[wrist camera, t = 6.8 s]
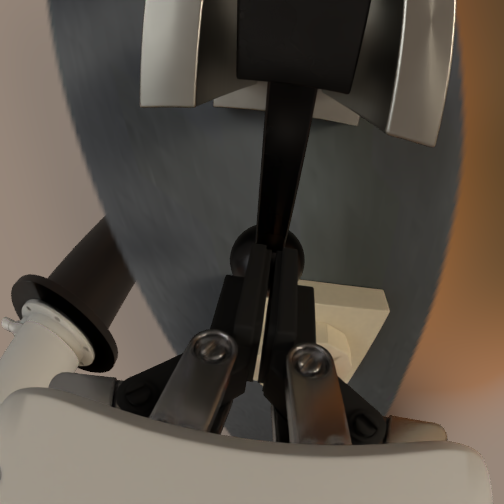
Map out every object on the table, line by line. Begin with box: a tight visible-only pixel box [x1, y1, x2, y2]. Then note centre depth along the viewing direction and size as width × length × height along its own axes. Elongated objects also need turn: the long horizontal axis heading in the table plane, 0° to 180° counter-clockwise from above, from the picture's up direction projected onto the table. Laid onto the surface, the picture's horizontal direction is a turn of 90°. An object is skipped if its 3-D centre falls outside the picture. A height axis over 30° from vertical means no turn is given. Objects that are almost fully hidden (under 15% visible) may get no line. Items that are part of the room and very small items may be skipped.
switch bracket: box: [140, 0, 456, 147], centre depth 7 cm, size 7×7×11 cm
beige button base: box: [253, 279, 390, 386], centre depth 21 cm, size 10×10×4 cm
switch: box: [230, 0, 371, 298], centre depth 9 cm, size 13×3×3 cm, turn 176°
